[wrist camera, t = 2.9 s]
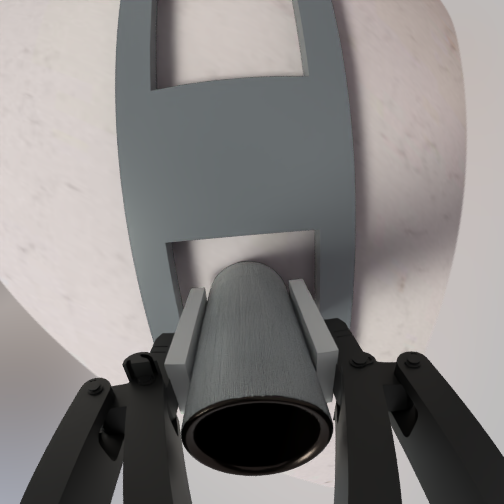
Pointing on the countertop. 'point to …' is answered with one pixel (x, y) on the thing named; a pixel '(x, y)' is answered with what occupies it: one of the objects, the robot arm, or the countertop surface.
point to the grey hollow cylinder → (253, 380)
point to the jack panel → (235, 159)
